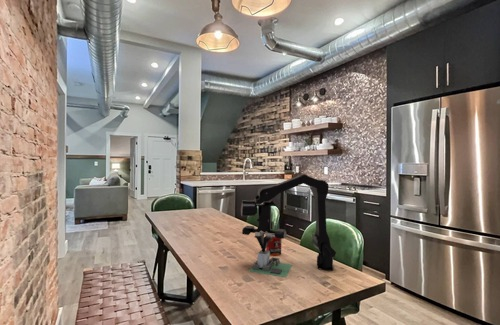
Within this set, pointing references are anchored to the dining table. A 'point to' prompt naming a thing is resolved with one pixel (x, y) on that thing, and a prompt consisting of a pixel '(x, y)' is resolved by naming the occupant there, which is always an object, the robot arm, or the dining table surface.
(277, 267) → the board
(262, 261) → the plug
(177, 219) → the dining table surface
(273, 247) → the canned food
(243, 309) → the dining table surface
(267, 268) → the grey square frame
